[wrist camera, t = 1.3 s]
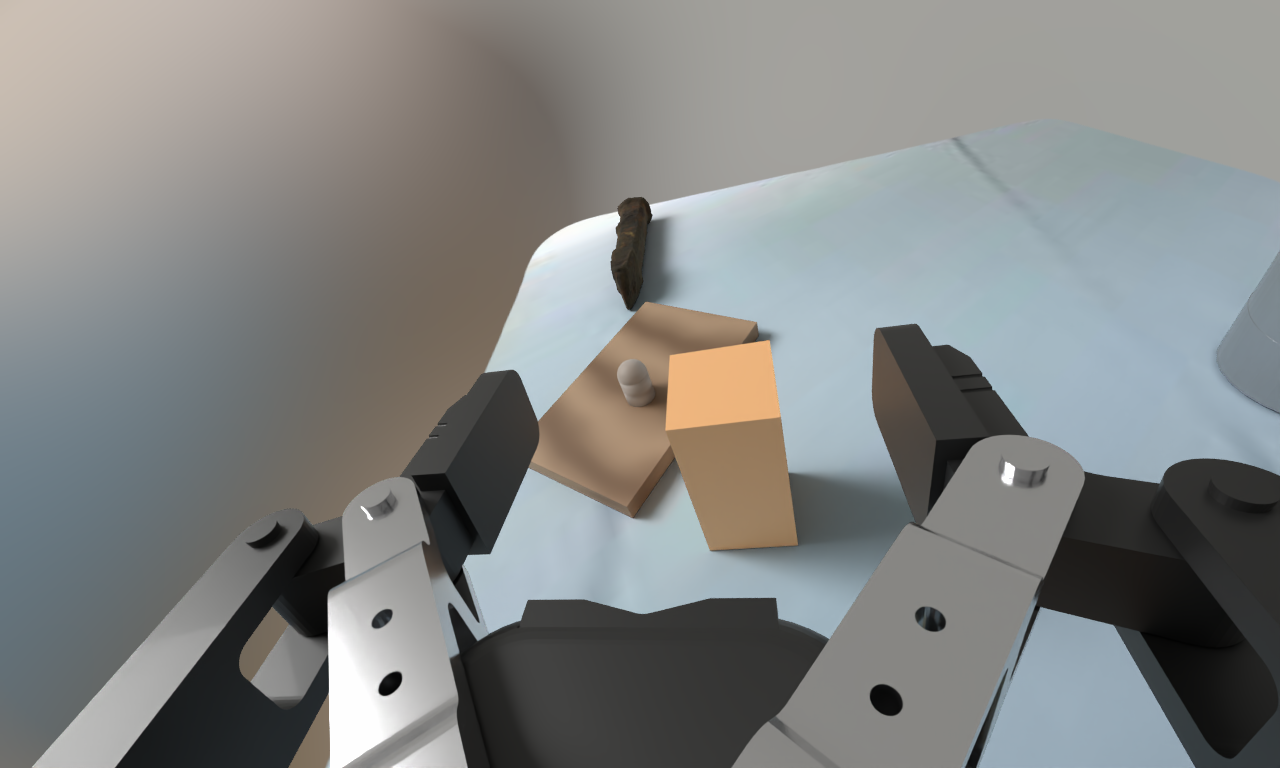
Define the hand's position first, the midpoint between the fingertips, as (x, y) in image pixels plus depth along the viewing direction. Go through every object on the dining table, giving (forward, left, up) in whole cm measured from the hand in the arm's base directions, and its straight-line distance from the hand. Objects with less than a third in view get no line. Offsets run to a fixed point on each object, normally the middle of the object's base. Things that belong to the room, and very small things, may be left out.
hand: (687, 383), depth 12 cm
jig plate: (-15, -19, -22) cm, 33 cm away
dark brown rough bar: (-33, -32, -23) cm, 51 cm away
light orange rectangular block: (-9, -6, -22) cm, 25 cm away
